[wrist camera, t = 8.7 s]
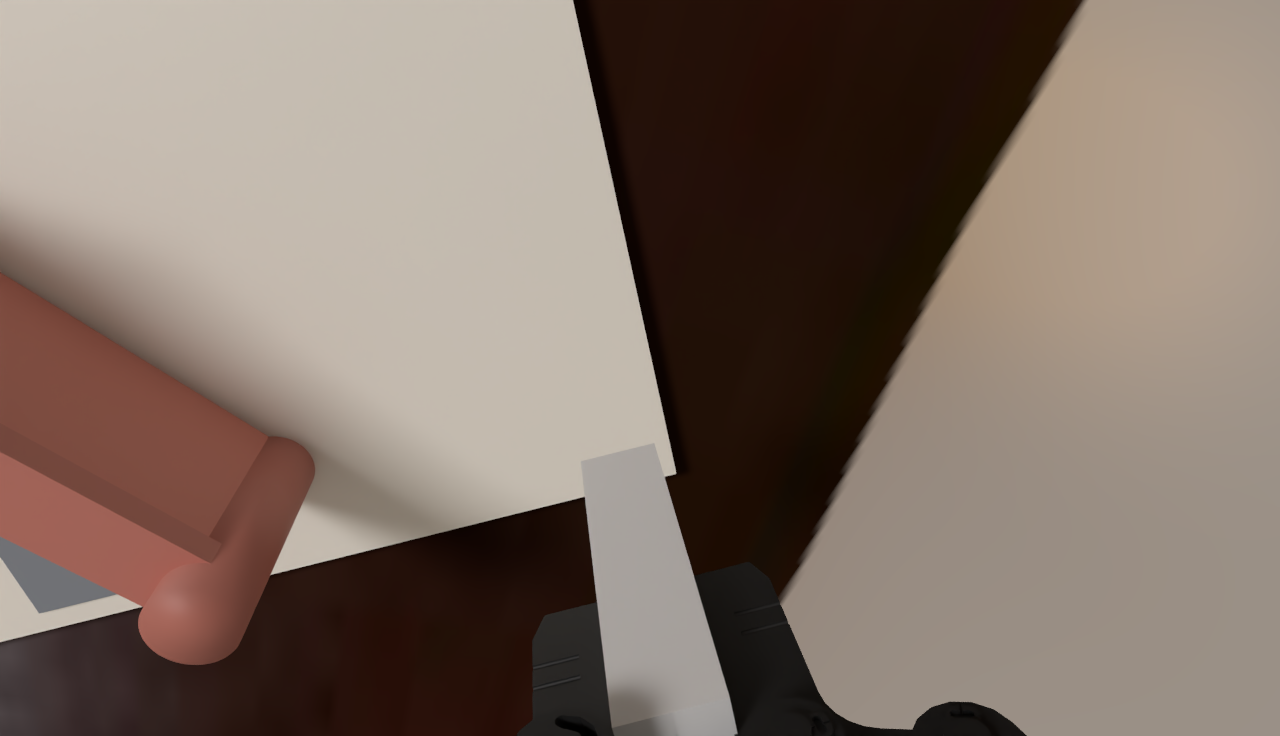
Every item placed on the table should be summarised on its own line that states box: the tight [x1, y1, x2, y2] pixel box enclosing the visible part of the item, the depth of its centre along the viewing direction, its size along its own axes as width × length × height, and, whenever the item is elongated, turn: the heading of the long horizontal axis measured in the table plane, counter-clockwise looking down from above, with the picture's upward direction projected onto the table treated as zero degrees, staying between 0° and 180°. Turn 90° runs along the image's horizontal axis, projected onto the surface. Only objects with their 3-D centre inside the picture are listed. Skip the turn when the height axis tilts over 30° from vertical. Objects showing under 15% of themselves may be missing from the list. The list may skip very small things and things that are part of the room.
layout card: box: [0, 0, 676, 642], centre depth 21 cm, size 17×32×1 cm, turn 102°
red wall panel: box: [0, 272, 315, 665], centre depth 18 cm, size 11×2×6 cm, turn 48°
